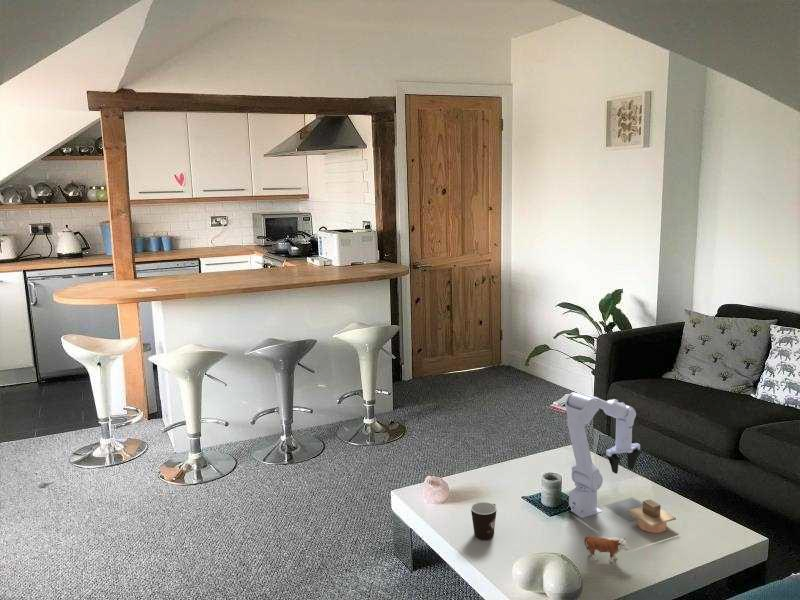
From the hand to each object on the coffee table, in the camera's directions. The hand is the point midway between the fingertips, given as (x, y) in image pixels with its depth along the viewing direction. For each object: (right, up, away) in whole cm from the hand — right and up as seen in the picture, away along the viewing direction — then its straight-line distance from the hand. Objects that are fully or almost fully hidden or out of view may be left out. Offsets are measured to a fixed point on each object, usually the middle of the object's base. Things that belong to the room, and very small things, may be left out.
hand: (622, 470), depth 252 cm
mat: (-1, -12, -11) cm, 16 cm away
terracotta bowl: (+3, -14, -23) cm, 27 cm away
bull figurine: (-19, -18, -41) cm, 48 cm away
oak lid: (+2, -10, -23) cm, 25 cm away
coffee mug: (-54, -16, -24) cm, 61 cm away
